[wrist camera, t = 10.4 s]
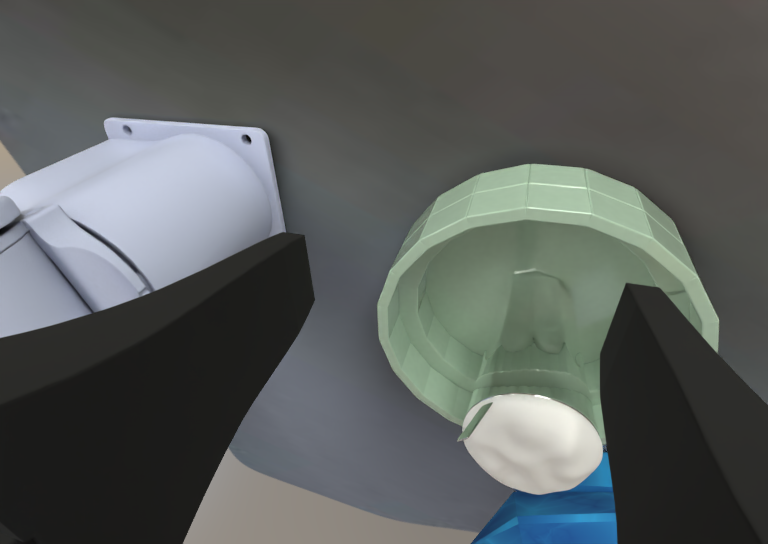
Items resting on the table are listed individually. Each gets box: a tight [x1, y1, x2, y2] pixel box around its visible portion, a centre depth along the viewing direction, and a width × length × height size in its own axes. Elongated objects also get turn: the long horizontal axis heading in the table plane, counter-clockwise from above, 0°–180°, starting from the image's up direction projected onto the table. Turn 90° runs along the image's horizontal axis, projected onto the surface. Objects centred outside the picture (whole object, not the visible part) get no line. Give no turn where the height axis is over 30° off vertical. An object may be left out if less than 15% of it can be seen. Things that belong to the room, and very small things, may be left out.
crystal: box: [471, 452, 617, 544], centre depth 25 cm, size 7×9×12 cm
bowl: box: [377, 164, 719, 445], centre depth 20 cm, size 13×13×4 cm
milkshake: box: [457, 273, 603, 495], centre depth 17 cm, size 5×5×10 cm
